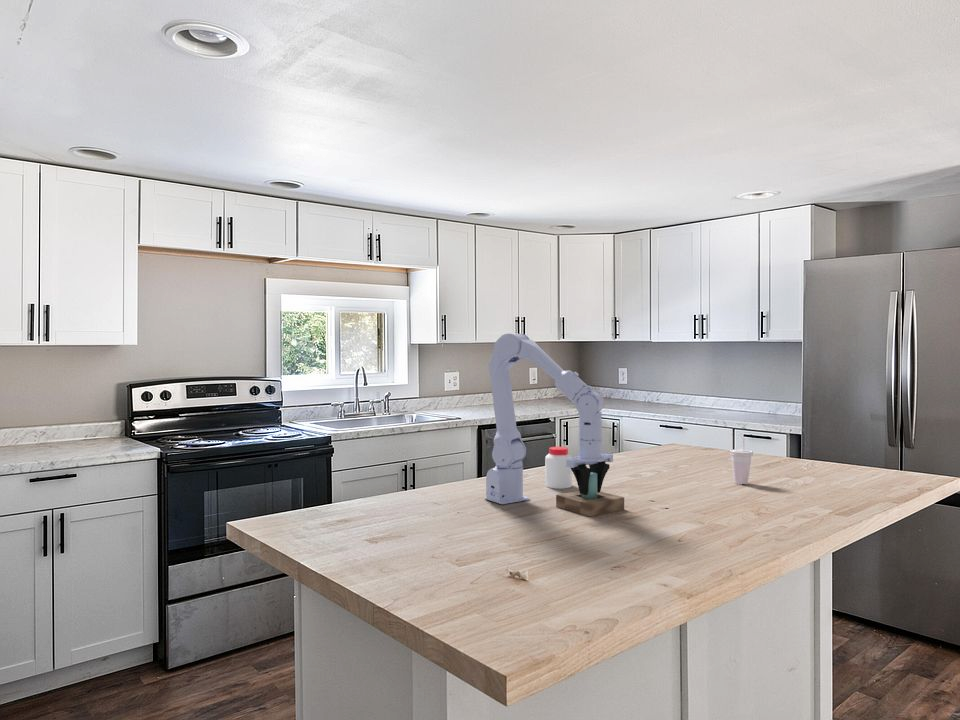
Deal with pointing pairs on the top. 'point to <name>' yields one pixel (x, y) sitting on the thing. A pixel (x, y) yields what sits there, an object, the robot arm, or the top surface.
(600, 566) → the top surface
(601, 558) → the top surface
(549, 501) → the top surface
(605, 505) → the socket block
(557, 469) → the pill bottle
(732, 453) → the smoothie
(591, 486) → the dowel
